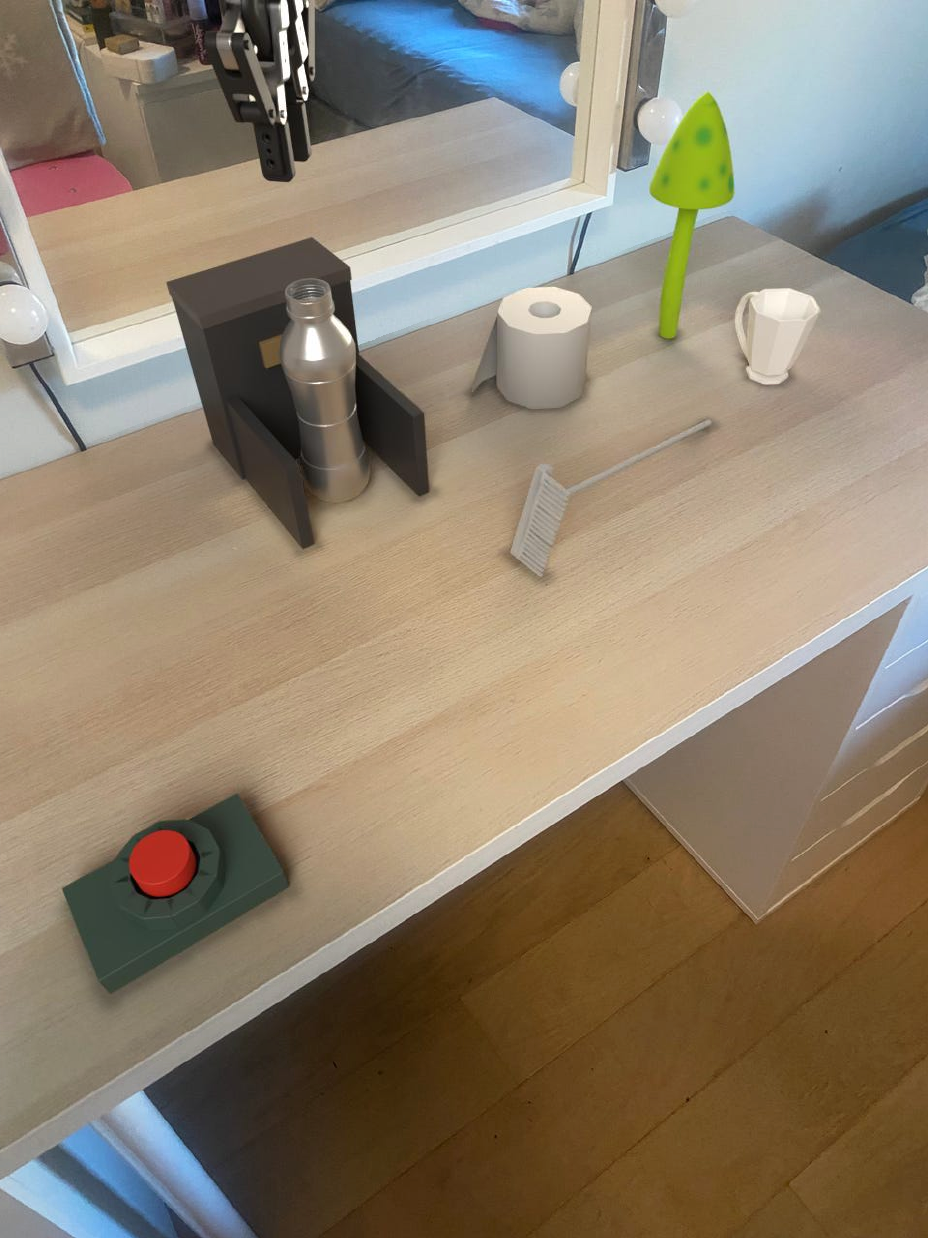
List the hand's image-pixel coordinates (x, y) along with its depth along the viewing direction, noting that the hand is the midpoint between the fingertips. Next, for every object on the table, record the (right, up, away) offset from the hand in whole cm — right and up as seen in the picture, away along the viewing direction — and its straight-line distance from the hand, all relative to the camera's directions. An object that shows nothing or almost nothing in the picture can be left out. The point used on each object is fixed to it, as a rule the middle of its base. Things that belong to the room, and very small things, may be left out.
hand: (288, 167), depth 63 cm
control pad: (-6, -50, -5) cm, 50 cm away
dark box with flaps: (-2, -17, +24) cm, 29 cm away
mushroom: (+36, +1, +39) cm, 53 cm away
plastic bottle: (+1, -20, +22) cm, 29 cm away
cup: (+44, -4, +34) cm, 56 cm away
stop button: (-6, -47, -8) cm, 48 cm away
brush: (+27, -20, +21) cm, 39 cm away
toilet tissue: (+19, -7, +33) cm, 39 cm away
